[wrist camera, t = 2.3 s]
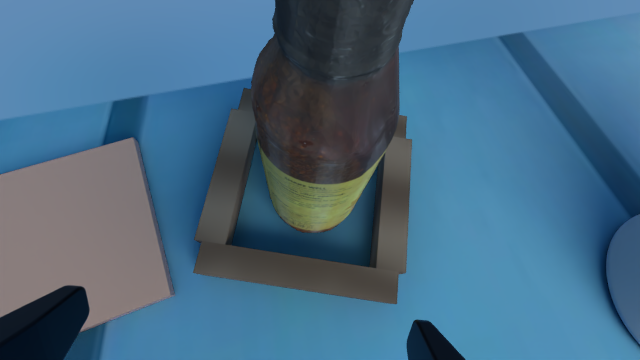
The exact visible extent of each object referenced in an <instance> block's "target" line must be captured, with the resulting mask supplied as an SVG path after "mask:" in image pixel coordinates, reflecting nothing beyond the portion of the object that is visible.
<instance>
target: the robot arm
mask: <svg viewBox="0 0 640 360" xmlns="http://www.w3.org/2000/svg"><path fill="white" fill-rule="evenodd" d="M89 311H90V308H89V303H88V298H87V294H86V290H85V288H84V287H82V286H75V285H66V286H63V287H61V288H59V289H57V290H55V291H53V292H51V293H49V294H47V295H45V296H43V297H41V298H38V299H36V300H34V301H32V302H30V303H28V304H26V305H24V306H22V307H20V308H18V309H16V310H14V311H12V312H10V313H8V314H6V315H4V316H2V317H0V360H64V358H65V356H66V354H67V353H68V351H69V349H70V348H71V346H72V344H73V342H74V341H75V339H76V337H77V335H78V334H79V332H80V330H81V329H82V327H83V325H84V323H85V322H86V320H87V318H88V316H89ZM407 354H408V360H465V358H464V357H463V356H462V355H461V354H460V353H459V352H458V351H457V350H456V349H455V348H454V347H453V346H452V344H451V343H450V342H449V341H448V340H447V339H446V338H445V337H444V336H443V335H442V334H441V333H440V332H439V331H438V329H437V328H436V327H435V326H434V325H433V324H432V323H431V322H429V321H426V320H415V321H414V322H413V324H412V327H411V330H410V333H409V336H408V339H407Z"/></svg>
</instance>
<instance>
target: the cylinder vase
mask: <svg viewBox="0 0 640 360" xmlns="http://www.w3.org/2000/svg"><path fill="white" fill-rule="evenodd" d="M606 274H607V281H608V286H609V290H610V294H611V297H612V300H613V302H614V305H615V307H616V309H617V311H618V314H619V315H620V317H621V319H622V321H623V323H624V324H625V326H626V327H627V329H628V330H629V332H630V333H631V334H632V336H633V337H634V338H635V340H636V341H637V342H638V343H639V344H640V214H639V215H636V216H634V217H632V218H631V219H629V220H628V221H626V222H625V223H624V224H623V225H622V226H621V227H620V228H619V229H618V230H617V231H616V233H615V234H614V236H613V238H612V240H611V242H610V245H609V248H608V252H607V259H606Z"/></svg>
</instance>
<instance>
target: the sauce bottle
mask: <svg viewBox="0 0 640 360" xmlns="http://www.w3.org/2000/svg"><path fill="white" fill-rule="evenodd" d="M413 1H414V0H275V7H276V8H275V13H274V16H273V19H272V20H273V29H274V32H275V34H274V36H273V38H271V39H270V40H269V41H268V43H267V44H266V46H265V47H264V48H263V50H262V51H261V53H260V54H259V57H258V58H257V61H256V65H255V68H254V73H253V77H252V81H251V83H252V86H251V101H252V109H253V112H254V116H255V120H256V136H257V141H258V145H259V150H260V154H261V158H262V163H263V167H264V172H265V176H266V180H267V185H268V189H269V193H270V198H271V200H272V203H273V206H274V208H275V210H276V212H277V213H278V215H279V216H280V218H281V219H283V220H284V222H285V223H287V224H289V225H290V226H291V227H293V228H295V229H296V230H298V231H301V232H303V233H305V232H307V233H318V232H324V231H328V230H331V229H332V228H334V227H336V226H337V225H338V224H339V223H340V222H342V221H343V220H344V219H345V218H346V217H347V216H348V215H349V214H350V212H351V211H352V209H353V208H354V206H355V204H356V202H357V201H358V199H359V197H360V195H361V194H362V192H363V190H364V188H365V187H366V185H367V184H368V182H369V181H370V178H371V176H372V175H373V173H374V171H375V169H376V167H377V166H378V164H379V162H380V160H381V159H382V158H383V156H384V153H385V152H386V150H387V148H388V146H389V144H390V142H391V140H392V138H393V136H394V134H395V131H396V129H397V124H398V120H399V47H398V46H399V43H400V40H401V37H402V29H403V26H404V23H405V20H406V18H407V16H408V14H409V11H410V8H411V5H412V4H413Z"/></svg>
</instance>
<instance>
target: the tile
mask: <svg viewBox="0 0 640 360" xmlns="http://www.w3.org/2000/svg"><path fill="white" fill-rule="evenodd" d="M66 285H75V286H82V287H84V288H85V290H86V294H87V298H88V303H89V308H90V311H89V316H88V318H87V320H86V322H85V323H84V325H83V327H82V329H81V330H80V332H82V331H85V330H87V329H90V328H93V327H95V326H98V325H100V324H103V323H105V322H108V321H111V320H113V319H116V318H118V317H121V316H123V315H126V314H129V313H131V312H134V311H136V310H139V309H141V308H144V307H147V306H149V305H152V304H154V303H157V302H159V301H162V300H165V299H167V298H170V297H172V296H175V294H174V289H173V285H172V281H171V277H170V273H169V269H168V264H167V260H166V256H165V252H164V248H163V244H162V240H161V235H160V231H159V227H158V223H157V219H156V215H155V210H154V206H153V202H152V198H151V194H150V190H149V186H148V181H147V177H146V173H145V169H144V165H143V161H142V157H141V152H140V148H139V144H138V142H137V141H136V140H135V139H134V138H133V137H132V138H129V139H125V140H122V141H118V142H115V143H111V144H107V145H104V146H100V147H97V148H93V149H90V150H86V151H82V152H79V153H75V154H72V155H68V156H65V157H61V158H57V159H54V160H50V161H47V162H43V163H40V164H36V165H32V166H29V167H25V168H22V169H18V170H15V171H11V172H7V173H4V174H0V317H2V316H4V315H6V314H8V313H10V312H12V311H14V310H16V309H18V308H20V307H22V306H24V305H26V304H28V303H30V302H32V301H34V300H36V299H38V298H41V297H43V296H45V295H47V294H49V293H51V292H53V291H55V290H57V289H59V288H61V287H63V286H66ZM80 332H79V333H80Z"/></svg>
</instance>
